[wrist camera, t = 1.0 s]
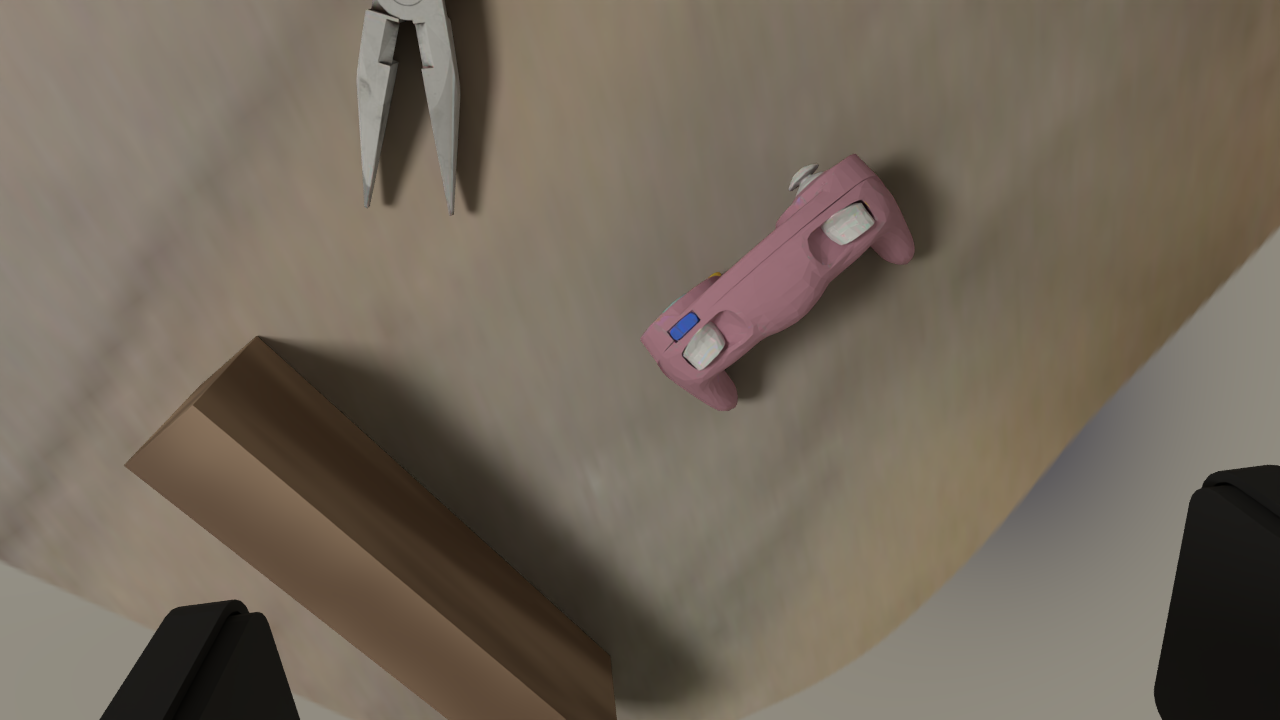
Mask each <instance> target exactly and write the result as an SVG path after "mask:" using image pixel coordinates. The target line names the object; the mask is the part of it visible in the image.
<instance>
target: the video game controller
mask: <svg viewBox="0 0 1280 720" xmlns="http://www.w3.org/2000/svg"><path fill="white" fill-rule="evenodd" d="M818 166H819V165H818V164H817V163H815V164H811V165H808V166H805V167H803V168H801V169H800V170H799V171H798V172H797V173H796V174H795V175H794V176H793V178H792V181H791V183H790V186H789V190H790V191H793V190H794V189H796V188H797V187H799V186H800V187H799V189H798V192H797V194H796V198H795V199H794V201H793V203H792V205H791V206H790V207H789V208H788V209H787V210H786V211H785V212H784V213H783V214H782V215H781V217H780V218H779V220H778V221H777V222H776V229H775V230H774V231H773V232H772V233H770V234H769V235H768V236H767V237H766V238H765V239H763V240H762V241H761V242H760V243H759V244H758V245H756V246H755V247H754V248H753V249H752V250H751V251H749V252H748V253H747V254H746V255H745V256H744V257H743V258H742V259H740V260H739V261H738V262H737V263H736V264H735V265H734V266H733V267H731V268H730V269H729V270H728V271H727V272H726V273H724V274H722V275H721V273H720V272H716V273H714V274H712V275H711V276H710V277H709V278H708V279H706V280H705V281H703V282H702V283H700V284H699V285H697V286H696V287H694V288H693V289H691V290H690V291H689V292H688V293H685V294H684V295H682V296H681V297H680V298H678V299H677V300H676V301H674V302H673V303H672V304H671V305H670V306H669V307H668V308H667V309H666V310H665V311H664V312H663V313H662V314H661V315H660V316H659V317H658V318H657V319H656V320H655V321H654V322H653V323H652V324H651V325H650V327H649V328H648V329H647V330H646V331H645V332H644V333H643V335H642V337H641V341H642V343H643V344H644V346H645V347H646V348H647V350H648V351H649V352H650V354H651V355H652V357H653V358H654V359H655V361H656V362H657V364H658V365H659V367H660V369H661V370H662V372H663V373H664V374H665V375H666V376H667V377H668V378H670V379H671V380H672V381H674V382H675V383H676V384H677V385H679V386H680V387H682V388H683V389H685V390H686V391H687V392H689V393H690V394H692V395H693V396H695V397H696V398H698V399H699V400H701V401H703V402H704V403H706V404H707V405H709V406H711V407H713V408H715V409H717V410H719V411H729V410H731V409H733V408H735V407H736V405H737V400H738V395H737V389H736V387H735V384H734V383H733V381H732V380H731V379H730V377H729V376H728V374H727V373H726V372H725V369H726V368H728V367H729V366H730V365H732V364H733V363H734V362H736V361H737V360H738V359H740V358H741V357H742V356H743V355H744V354H746V353H747V352H748V351H749V350H750V349H751V348H753V347H754V346H755V345H756V344H757V343H758V342H760V341H761V340H763V339H765V338H766V337H768V336H770V335H773V334H775V333H778V332H781V331H783V330H784V329H786V328H788V327H790V326H791V325H793V324H795V323H797V322H798V321H799V320H800V319H801V318H803V317H804V316H805V315H806V314H808V312H809V311H810V310H811V309H812V307H813V306H814V305H815V304H816V302H817V301H818V300H819V299H820V297H821V296H822V294H823V293H824V291H825V289H826V288H827V286H828V284H829V283H830V282H831V281H832V280H833V279H834V278H836V277H837V276H838V275H839V274H840V273H841V272H843V271H844V270H845V269H846V268H847V267H848V266H850V265H851V264H852V263H853V262H854V261H856V260H857V259H858V258H859V257H860V256H861V255H862V254H863V253H864V252H865V251H866V250H867V249H868V248H869V247H870V246H871V247H872V248H873V249H874V250H875V251H876V252H877V253H878V254H879V255H880V256H881V257H882V258H883V259H884V260H886V261H888V262H891V263H894V264H907V263H908V262H909V261H910V260H911V259H912V258H913V255H914V252H915V248H914V241H913V238H912V235H911V233H910V231H909V228H908V226H907V224H906V222H905V219H904V217H903V215H902V213H901V211H900V209H899V207H898V205H897V203H896V201H895V199H894V197H893V195H892V194H891V193H890V192H889V190H888V189H887V188H886V187H885V185H884V184H883V182H882V181H881V179H880V178H879V177H878V176H877V175H876V174H875V173H874V172H873V171H872V170H871V169H870V168H869V167H868V166H867V165H866V164H865V163H864V162H863V161H862V160H861V159H860V158H859V157H858V156H857V155H856V154H853V155H850V156H848V157H847V158H845V159H844V160H842V161H841V162H839V163H838V164H837V165H835V166H834V167H832V168H831V169H829V170H827V171H823V172H819V173H816V174H813V173H814V172H815V171H816V169H817V168H818Z"/></svg>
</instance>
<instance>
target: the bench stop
mask: <svg viewBox="0 0 1280 720" xmlns="http://www.w3.org/2000/svg"><path fill="white" fill-rule="evenodd" d="M124 466H125V467H126V468H128V469H129V470H130V471H132V472H133V473H134V474H135V475H137V476H138V477H139V478H141V479H142V480H143V481H144V482H146V483H147V484H148V485H149V486H151V487H152V488H153V489H155V490H156V491H157V492H158V493H160V494H161V495H162V496H163V497H165V498H166V499H167V500H169V501H170V502H171V503H172V504H174V505H175V506H176V507H178V508H179V509H180V510H181V511H183V512H184V513H185V514H186V515H188V516H189V517H190V518H192V519H193V520H194V521H195V522H197V523H198V524H199V525H200V526H202V527H203V528H204V529H206V530H207V531H208V532H209V533H211V534H212V535H213V536H215V537H216V538H217V539H218V540H220V541H221V542H222V543H223V544H225V545H226V546H227V547H229V548H230V549H231V550H232V551H234V552H235V553H236V554H237V555H239V556H240V557H241V558H243V559H244V560H245V561H246V562H248V563H249V564H250V565H252V566H253V567H254V568H255V569H257V570H258V571H259V572H260V573H262V574H263V575H264V576H266V577H267V578H268V579H269V580H271V581H272V582H273V583H274V584H276V585H277V586H278V587H280V588H281V589H282V590H283V591H285V592H286V593H287V594H289V595H290V596H291V597H292V598H294V599H295V600H296V601H297V602H299V603H300V604H301V605H303V606H304V607H305V608H306V609H308V610H309V611H310V612H311V613H313V614H314V615H315V616H317V617H318V618H319V619H320V620H322V621H323V622H324V623H326V624H327V625H328V626H329V627H331V628H332V629H333V630H334V631H336V632H337V633H338V634H340V635H341V636H342V637H343V638H345V639H346V640H347V641H349V642H350V643H351V644H352V645H354V646H355V647H356V648H357V649H359V650H360V651H361V652H363V653H364V654H365V655H366V656H368V657H369V658H370V659H371V660H373V661H374V662H375V663H377V664H378V665H379V666H380V667H382V668H383V669H384V670H386V671H387V672H388V673H389V674H391V675H392V676H393V677H394V678H396V679H397V680H398V681H400V682H401V683H402V684H403V685H405V686H406V687H407V688H408V689H410V690H411V691H412V692H414V693H415V694H416V695H417V696H419V697H420V698H421V699H423V700H424V701H425V702H426V703H428V704H429V705H430V706H431V707H433V708H434V709H435V710H437V711H438V712H439V713H440V714H442V715H443V716H444V717H445V718H447V719H448V720H617V717H616V707H615V697H614V687H613V677H612V668H611V658H610V655H609V654H607V653H606V652H605V651H604V650H603V649H602V648H601V647H600V646H599V645H597V644H596V643H595V642H594V641H593V640H592V639H591V638H590V637H589V636H588V635H586V634H585V633H584V632H583V631H582V630H581V629H580V628H579V627H578V626H577V625H575V624H574V623H573V622H572V621H571V620H570V619H569V618H568V617H567V616H565V615H564V614H563V613H562V612H561V611H560V610H559V609H558V608H557V607H556V606H554V605H553V604H552V603H551V602H550V601H549V600H548V599H547V598H546V597H545V596H543V595H542V594H541V593H540V592H539V591H538V590H537V589H536V588H535V587H533V586H532V585H531V584H530V583H529V582H528V581H527V580H526V579H525V578H524V577H522V576H521V575H520V574H519V573H518V572H517V571H516V570H515V569H514V568H512V567H511V566H510V565H509V564H508V563H507V562H506V561H505V560H504V559H503V558H501V557H500V556H499V555H498V554H497V553H496V552H495V551H494V550H493V549H492V548H490V547H489V546H488V545H487V544H486V543H485V542H484V541H483V540H482V539H480V538H479V537H478V536H477V535H476V534H475V533H474V532H473V531H472V530H471V529H469V528H468V527H467V526H466V525H465V524H464V523H463V522H462V521H461V520H460V519H458V518H457V517H456V516H455V515H454V514H453V513H452V512H451V511H450V510H448V509H447V508H446V507H445V506H444V505H443V504H442V503H441V502H440V501H439V500H437V499H436V498H435V497H434V496H433V495H432V494H431V493H430V492H429V491H428V490H426V489H425V488H424V487H423V486H422V485H421V484H420V483H419V482H418V481H416V480H415V479H414V478H413V477H412V476H411V475H410V474H409V473H408V472H407V471H405V470H404V469H403V468H402V467H401V466H400V465H399V464H398V463H397V462H395V461H394V460H393V459H392V458H391V457H390V456H389V455H388V454H387V453H386V452H384V451H383V450H382V449H381V448H380V447H379V446H378V445H377V444H376V443H375V442H373V441H372V440H371V439H370V438H369V437H368V436H367V435H366V434H365V433H363V432H362V431H361V430H360V429H359V428H358V427H357V426H356V425H355V424H354V423H352V422H351V421H350V420H349V419H348V418H347V417H346V416H345V415H344V414H343V413H341V412H340V411H339V410H338V409H337V408H336V407H335V406H334V405H333V404H331V403H330V402H329V401H328V400H327V399H326V398H325V397H324V396H323V395H322V394H320V393H319V392H318V391H317V390H316V389H315V388H314V387H313V386H312V385H311V384H309V383H308V382H307V381H306V380H305V379H304V378H303V377H302V376H301V375H299V374H298V373H297V372H296V371H295V370H294V369H293V368H292V367H291V366H290V365H288V364H287V363H286V362H285V361H284V360H283V359H282V358H281V357H280V356H279V355H277V354H276V353H275V352H274V351H273V350H272V349H271V348H270V347H269V346H267V345H266V344H265V343H264V342H263V341H262V340H261V339H260V338H259V337H258V336H256V337H255V338H254V339H253V340H251V341H250V342H249V343H248V344H247V345H246V346H245V347H244V348H242V349H241V350H240V351H239V352H238V353H237V354H236V355H234V356H233V357H232V358H231V359H230V360H229V361H228V362H226V363H225V364H224V365H223V366H222V367H221V368H220V369H219V370H217V371H216V372H215V373H214V374H213V375H212V376H211V377H209V378H208V379H207V380H206V381H205V382H204V383H203V384H201V385H200V386H199V387H198V388H197V389H196V390H195V391H194V393H193V394H192V395H191V396H190V397H189V398H188V399H187V400H186V401H185V402H184V403H183V404H182V405H181V406H180V407H179V408H178V409H177V410H176V411H175V412H174V413H173V414H172V416H171V417H170V418H169V419H168V420H167V421H166V422H165V423H164V424H163V425H162V426H161V427H160V428H159V429H158V430H157V431H156V432H155V433H154V434H153V435H152V436H151V438H150V439H149V440H148V441H147V442H146V443H145V444H144V445H143V446H142V447H141V448H140V449H139V450H138V451H137V452H136V453H135V454H134V455H133V456H132V457H131V458H130V460H129V461H128V462H127V463H126V464H125V465H124Z"/></svg>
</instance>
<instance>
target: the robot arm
mask: <svg viewBox="0 0 1280 720" xmlns="http://www.w3.org/2000/svg"><path fill="white" fill-rule="evenodd" d="M1154 697H1155V703H1156V706H1157V709H1158V712H1159V714H1160V716H1161V718H1162V720H1280V466H1278V465H1263V466H1256V467H1248V468H1240V469H1232V470H1225V471H1218V472H1215V473H1213V474H1211V475H1209V476H1208V478H1207V479H1206V480H1205V481H1204V483H1203V486H1202V488H1201V489H1199V490H1196V491H1195V493H1194V494H1193V495H1192V497H1191V500H1190V502H1189V508H1188V513H1187V518H1186V523H1185V529H1184V534H1183V539H1182V544H1181V550H1180V555H1179V560H1178V565H1177V571H1176V576H1175V581H1174V587H1173V592H1172V597H1171V602H1170V607H1169V613H1168V618H1167V623H1166V628H1165V634H1164V639H1163V644H1162V649H1161V655H1160V660H1159V665H1158V670H1157V676H1156V681H1155V686H1154ZM100 720H300V718H299V715H298V712H297V709H296V706H295V702H294V699H293V696H292V693H291V690H290V687H289V684H288V681H287V678H286V675H285V672H284V669H283V666H282V663H281V660H280V657H279V654H278V651H277V648H276V645H275V641H274V638H273V635H272V632H271V629H270V626H269V623H268V621H267V619H266V617H265V616H264V615H263V614H262V613H260V612H254V613H249V611H248V609H247V607H246V606H245V605H244V604H243V603H242V602H241V601H239V600H228V601H220V602H212V603H205V604H197V605H189V606H182V607H177V608H175V609H173V610H171V611H170V612H169V614H168V615H167V616H166V617H165V618H164V620H163V622H162V623H161V625H160V626H159V628H158V629H157V631H156V632H155V634H154V636H153V637H152V639H151V640H150V642H149V643H148V645H147V647H146V648H145V650H144V651H143V653H142V655H141V656H140V657H139V659H138V660H137V662H136V664H135V665H134V667H133V668H132V670H131V671H130V673H129V675H128V676H127V678H126V679H125V681H124V682H123V684H122V685H121V687H120V689H119V690H118V692H117V693H116V695H115V696H114V698H113V700H112V701H111V703H110V704H109V706H108V707H107V709H106V710H105V712H104V714H103V715H102V717H101V718H100Z"/></svg>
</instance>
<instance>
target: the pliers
mask: <svg viewBox="0 0 1280 720" xmlns="http://www.w3.org/2000/svg"><path fill="white" fill-rule="evenodd" d="M406 20H412V21H413V24H415V27H416V32H417V38H418V43H419V49H420V54H421V60H422V65H423V68H422V69H421V70H422V75H423V81H424V86H425V92H426V97H427V103H428V108H429V113H430V118H431V123H432V129H433V134H434V139H435V144H436V149H437V154H438V159H439V164H440V169H441V175H442V180H443V185H444V190H445V195H446V200H447V205H448V210H449V215H450V216H451V215H454V202H455V184H456V166H457V148H458V130H459V112H460V82H459V74H458V67H457V60H456V53H455V46H454V40H453V33H452V27H451V21H450V18H448V17H447V12H446V6H445V0H373V2H372V8H371V9H366V13H365V19H364V25H363V32H362V39H361V46H360V53H359V61H358V69H357V95H358V111H359V126H360V142H361V158H362V173H363V189H364V205H365V208H368V207H369V206H370V202H371V197H372V193H373V188H374V183H375V178H376V173H377V168H378V163H379V158H380V153H381V148H382V143H383V139H384V134H385V129H386V124H387V119H388V114H389V109H390V104H391V99H392V94H393V89H394V84H395V78H396V73H397V68H398V63H399V62H397V61H395V60H393V54H394V49H395V44H396V39H397V34H398V29H399V24H400V22H406Z"/></svg>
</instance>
